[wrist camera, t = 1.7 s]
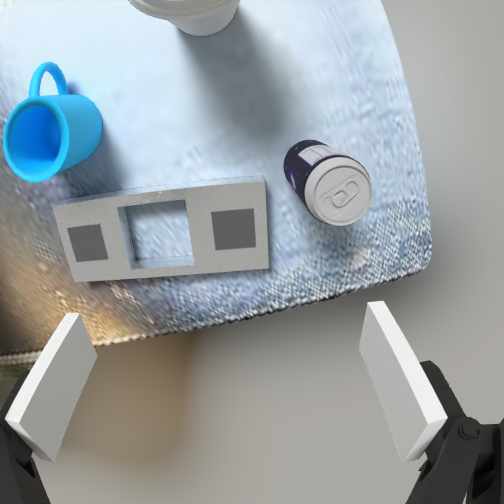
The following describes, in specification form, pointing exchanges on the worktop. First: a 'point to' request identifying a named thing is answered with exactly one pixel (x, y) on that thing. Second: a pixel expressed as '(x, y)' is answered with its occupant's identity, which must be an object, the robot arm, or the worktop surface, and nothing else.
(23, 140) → the mug
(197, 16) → the coffee cup
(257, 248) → the white compartment tray
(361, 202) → the beverage can
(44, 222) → the worktop surface
